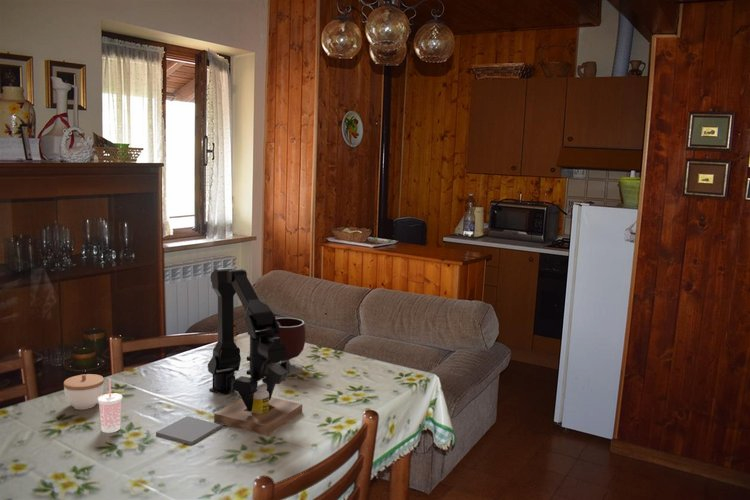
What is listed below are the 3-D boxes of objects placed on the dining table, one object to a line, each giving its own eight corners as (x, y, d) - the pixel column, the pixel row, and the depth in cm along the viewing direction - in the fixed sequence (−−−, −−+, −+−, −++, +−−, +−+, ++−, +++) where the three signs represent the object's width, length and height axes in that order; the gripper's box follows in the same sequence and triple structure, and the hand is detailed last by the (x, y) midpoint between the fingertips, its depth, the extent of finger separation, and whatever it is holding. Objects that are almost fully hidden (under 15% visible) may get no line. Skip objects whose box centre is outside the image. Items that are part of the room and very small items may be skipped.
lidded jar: (58, 404, 184) (57, 374, 182) (95, 395, 191) (94, 366, 190) (73, 415, 176) (72, 384, 175) (110, 406, 184) (110, 375, 183)
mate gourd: (284, 360, 232) (285, 307, 229) (312, 368, 224) (314, 314, 221) (253, 370, 219) (254, 315, 216) (282, 379, 211) (283, 322, 208)
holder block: (214, 421, 176) (214, 413, 176) (251, 400, 192) (251, 392, 192) (267, 435, 169) (267, 426, 168) (302, 412, 185) (302, 404, 185)
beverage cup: (128, 426, 171) (127, 377, 169) (111, 435, 165) (110, 384, 163) (110, 422, 173) (108, 374, 171) (93, 431, 167) (92, 381, 165)
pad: (156, 434, 167) (155, 432, 166) (186, 418, 177) (186, 416, 177) (191, 444, 162) (191, 441, 162) (221, 427, 173) (221, 424, 172)
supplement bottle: (264, 421, 177) (265, 388, 176) (246, 419, 178) (246, 386, 177) (271, 414, 183) (271, 382, 181) (254, 412, 184) (254, 380, 182)
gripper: (265, 367, 166) (264, 422, 168) (301, 349, 183) (300, 399, 185) (230, 360, 171) (230, 414, 173) (269, 343, 187) (268, 392, 190)
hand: (259, 405), depth 180 cm, fingers open, 9 cm apart
